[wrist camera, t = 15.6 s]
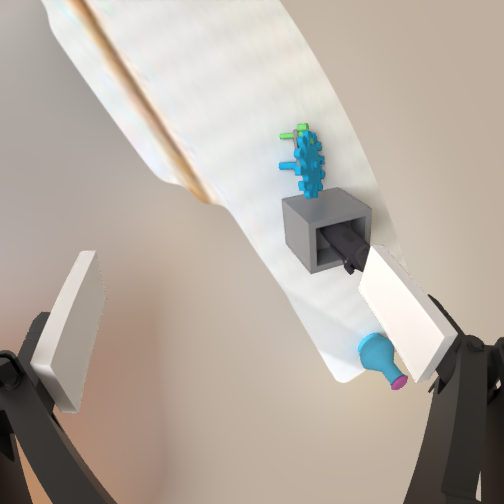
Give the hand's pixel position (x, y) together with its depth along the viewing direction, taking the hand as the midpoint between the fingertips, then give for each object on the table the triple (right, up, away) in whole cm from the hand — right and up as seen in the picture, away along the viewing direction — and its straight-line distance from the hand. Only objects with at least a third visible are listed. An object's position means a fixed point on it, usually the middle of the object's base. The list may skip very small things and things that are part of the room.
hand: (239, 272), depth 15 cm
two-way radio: (+12, +4, +33) cm, 35 cm away
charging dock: (+11, +7, +38) cm, 40 cm away
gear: (+8, +16, +33) cm, 37 cm away
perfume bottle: (+30, -22, +60) cm, 70 cm away
